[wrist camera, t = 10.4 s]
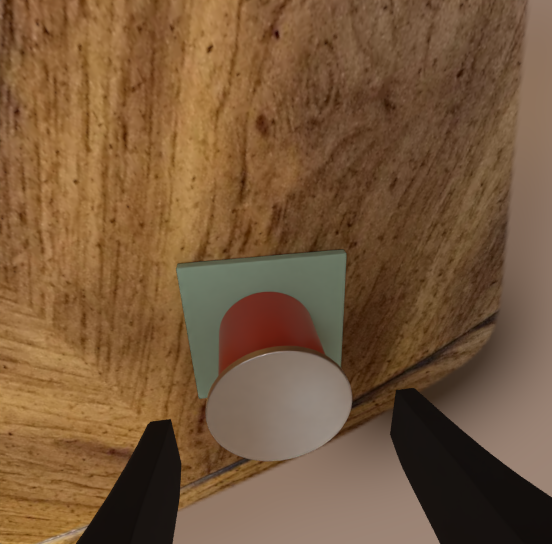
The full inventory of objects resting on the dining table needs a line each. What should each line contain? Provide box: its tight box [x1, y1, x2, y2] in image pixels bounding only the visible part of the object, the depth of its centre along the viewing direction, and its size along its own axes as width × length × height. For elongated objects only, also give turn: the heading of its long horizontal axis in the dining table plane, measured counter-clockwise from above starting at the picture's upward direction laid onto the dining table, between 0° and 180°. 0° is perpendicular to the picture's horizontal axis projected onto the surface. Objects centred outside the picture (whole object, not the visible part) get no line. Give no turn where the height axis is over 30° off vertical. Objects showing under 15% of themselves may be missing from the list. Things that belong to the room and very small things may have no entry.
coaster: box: [176, 250, 347, 399], centre depth 17 cm, size 7×7×1 cm
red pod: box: [206, 292, 352, 461], centre depth 15 cm, size 5×5×5 cm
